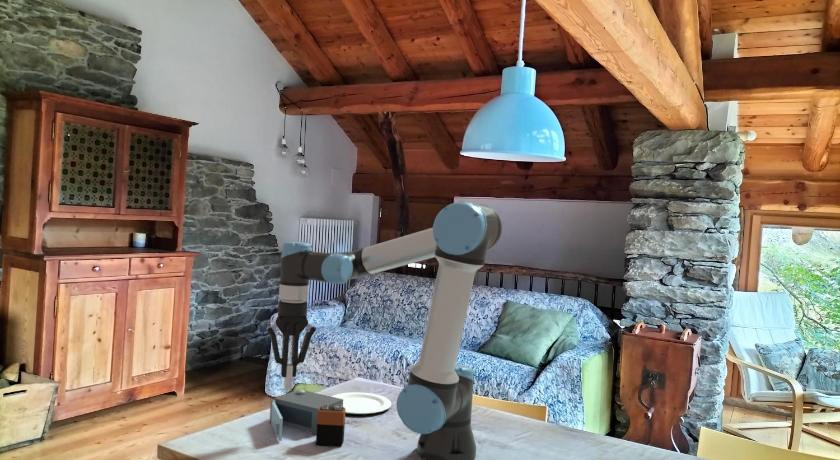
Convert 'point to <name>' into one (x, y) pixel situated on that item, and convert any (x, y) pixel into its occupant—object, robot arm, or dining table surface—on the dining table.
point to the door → (276, 420)
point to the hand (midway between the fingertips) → (287, 388)
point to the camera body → (303, 408)
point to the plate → (363, 403)
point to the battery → (330, 426)
